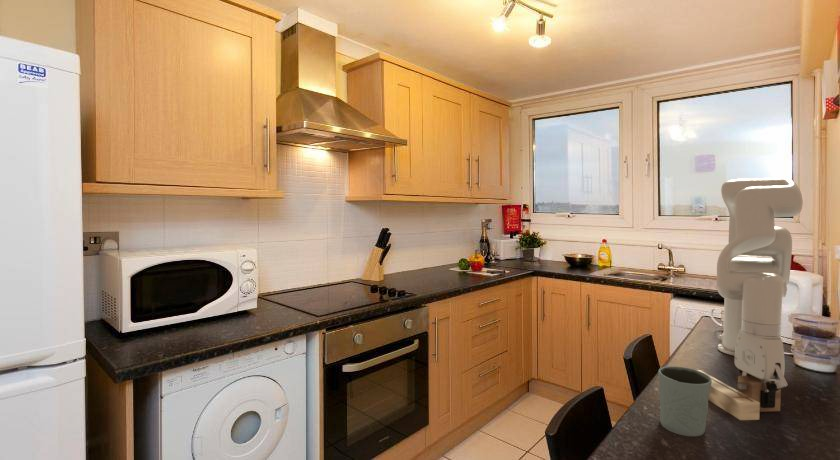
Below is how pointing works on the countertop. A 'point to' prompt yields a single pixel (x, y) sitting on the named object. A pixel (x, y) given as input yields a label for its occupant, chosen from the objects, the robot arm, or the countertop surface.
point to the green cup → (683, 400)
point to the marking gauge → (756, 391)
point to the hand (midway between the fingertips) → (758, 401)
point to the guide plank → (733, 400)
